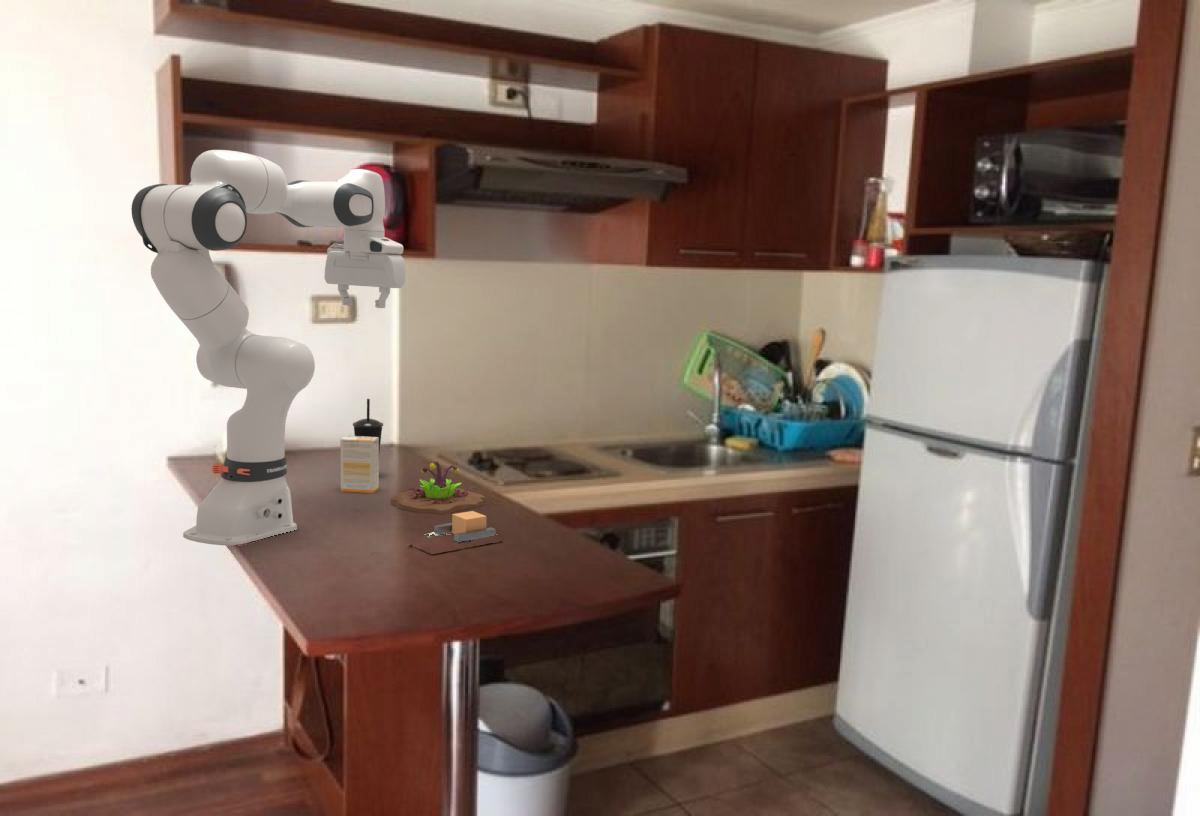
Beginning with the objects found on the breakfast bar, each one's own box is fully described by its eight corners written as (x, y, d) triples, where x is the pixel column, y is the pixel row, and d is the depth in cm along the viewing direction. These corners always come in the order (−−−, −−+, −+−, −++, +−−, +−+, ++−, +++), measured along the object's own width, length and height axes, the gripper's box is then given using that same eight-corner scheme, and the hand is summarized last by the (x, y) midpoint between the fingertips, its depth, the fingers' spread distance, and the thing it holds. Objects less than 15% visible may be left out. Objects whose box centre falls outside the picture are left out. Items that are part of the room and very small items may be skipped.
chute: (471, 529, 212) (472, 517, 212) (502, 541, 204) (502, 529, 204) (402, 541, 201) (402, 529, 201) (431, 555, 193) (432, 542, 193)
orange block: (472, 529, 209) (472, 510, 208) (485, 535, 205) (486, 516, 204) (451, 533, 205) (452, 514, 205) (465, 538, 202) (466, 519, 201)
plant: (375, 509, 227) (375, 461, 225) (427, 493, 244) (428, 448, 242) (447, 523, 218) (448, 473, 216) (496, 506, 235) (498, 459, 233)
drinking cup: (388, 475, 259) (390, 399, 256) (367, 480, 253) (368, 402, 250) (367, 471, 263) (368, 395, 260) (345, 475, 257) (346, 398, 254)
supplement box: (379, 489, 244) (380, 436, 242) (373, 494, 239) (373, 440, 237) (346, 487, 245) (346, 434, 243) (339, 491, 240) (339, 438, 238)
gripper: (318, 242, 224) (318, 304, 226) (391, 245, 216) (390, 309, 218) (337, 243, 230) (337, 303, 232) (409, 246, 221) (408, 309, 223)
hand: (363, 306), depth 225 cm, fingers open, 8 cm apart
